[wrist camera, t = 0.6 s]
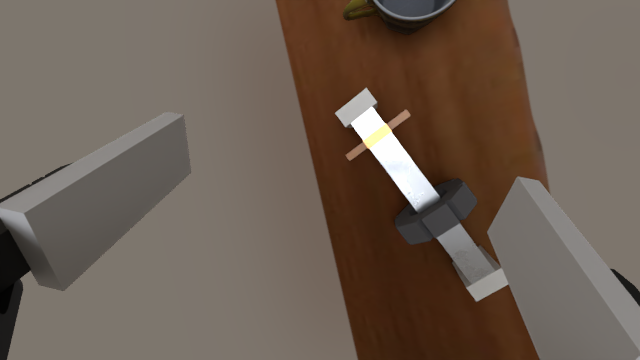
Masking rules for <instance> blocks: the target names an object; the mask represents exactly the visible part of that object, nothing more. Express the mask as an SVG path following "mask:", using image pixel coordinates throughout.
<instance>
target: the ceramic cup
mask: <svg viewBox="0 0 640 360" xmlns="http://www.w3.org/2000/svg"><path fill="white" fill-rule="evenodd" d="M455 2H456V0H352V1H351V2H350V3H349V4H348V5H347V6H346V8H345V9H344V12H343V17H344V19H345V20H354V19H358V18H361V17H368V16H372V15H376V16H381V18H382V19H383V21H384V22H385V24H386V26H387V28H388V29H391V30H394V31H397V32H400V33H404V34H408V35H409V34H411V33H413V32H415V31H416V30H418V29H420V28H422V27H424V26H426V25H427V24H429V23H430V22H431V21H433V20H434V19H435V18H437V17H438V16H440V15H441V14H443V13H444V12H445V11H446V10H448V9H449V8H450V7H451V6H452V5H453V4H454V3H455ZM368 6H371V7H373V8H372V9H371V10H368V11H360V12H356V11H358V10H360V9H363V8H365V7H368ZM353 12H356V13H353ZM351 13H352V14H351Z"/></svg>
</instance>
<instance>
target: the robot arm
mask: <svg viewBox="0 0 640 360" xmlns="http://www.w3.org/2000/svg"><path fill="white" fill-rule="evenodd" d="M190 173H191V167H190V159H189V151H188V144H187V136H186V128H185V120H184V115H181V114H176V113H170V112H165V113H164V114H161V115H160V116H158V117H156V118H154V119H153V120H151V121H149V122H147V123H145V124H143V125H141V126H140V127H138V128H136V129H134V130H132V131H131V132H129V133H127V134H125V135H123V136H121V137H120V138H118V139H116V140H114V141H112V142H111V143H109V144H107V145H105V146H103V147H101V148H100V149H98V150H96V151H94V152H92V153H91V154H89V155H87V156H85V157H83V158H81V159H80V160H78V161H76V162H74V163H71V164H68V165H65V166H62V167H60V168H58V169H56V170H54V171H52V172H50V173H48V174H47V175H45V177H41V178H39V179H37V180H35V181H34V182H32V184H31V185H29V184H28V185H26V186H24V187H23V188H21V189H19V190H17V191H15V192H13V193H11V194H10V195H8V196H6V197H4V198H2V199H0V360H7V356H8V352H9V348H10V344H11V339H12V335H13V331H14V326H15V322H16V317H17V313H18V309H19V305H20V300H21V296H22V291H23V284H22V282H21V280H20V278H21V277H22V276H24V275H25V274H26V273H28V272H29V271H30V270H31V272H32V274H33V276H34V277H35V279H36V281H37V282H38V284H39V285H41V286H45V287H49V288H53V289H57V290H61V291H64V290H65V289H67V288H68V287H69V286H70V285H71V284H72V283H73V282H74V281H75V280H76V279H77V278H78V277H79V276H80V275H82V274H83V272H85V271H86V270H87V269H88V268H89V267H90V266H91V265H92V264H93V263H94V262H96V261H97V260H98V259H99V258H100V256H102V255H103V254H104V253H105V252H106V251H107V250H108V249H109V248H111V247H112V246H113V245H114V244H115V243H116V242H117V241H118V240H119V239H120V238H121V237H122V236H123V235H125V234H126V233H127V232H128V231H129V230H130V229H131V228H132V227H133V226H134V225H135V224H136V223H137V222H138V221H140V220H141V219H142V218H143V217H144V216H145V215H146V214H147V213H148V212H149V211H150V210H151V209H152V208H154V207H155V206H156V205H157V204H158V203H159V202H160V201H161V200H162V199H163V198H164V197H165V196H166V195H167V194H169V193H170V192H171V191H172V190H173V189H174V188H175V187H176V186H177V185H178V184H179V183H180V182H181V181H182V180H184V179H185V178H186V177H187V176H188V175H189V174H190ZM487 233H488V236H489V238H490V241H491V243H492V245H493V248H494V250H495V253H496V255H497V258H498V260H499V262H500V265H501V267H502V270H503V272H504V274H505V277H506V279H507V282H508V284H509V286H510V289H511V291H512V294H513V296H514V298H515V301H516V303H517V306H518V308H519V311H520V313H521V315H522V318H523V320H524V323H525V325H526V327H527V330H528V332H529V335H530V337H531V339H532V342H533V344H534V347H535V349H536V352H537V354H538V356H539V359H540V360H640V292H639V291H638V289H637V288H636V287H635V286H634V285H633V284H632V283H630V282H629V281H628V280H627V279H625V278H624V277H623V276H622V275H620V274H619V273H618V272H616V271H615V270H614V269H609V268H608V266H607V265H606V264H605V263H604V261H603V260H602V259H601V257H600V256H599V255H598V254H597V253H596V251H595V250H594V249H593V248H592V246H591V245H590V244H589V243H588V241H587V240H586V239H585V238H584V236H583V235H582V234H581V233H580V231H579V230H578V229H577V228H576V226H575V225H574V224H573V223H572V221H571V220H570V219H569V218H568V216H567V215H566V214H565V213H564V211H563V210H562V209H561V208H560V206H559V205H558V204H557V203H556V201H555V200H554V199H553V198H552V196H551V195H550V194H549V193H548V191H547V190H546V189H545V188H544V186H543V185H542V184H541V183H540V181H538V180H533V179H527V178H522V177H517V178H516V180H515V182H514V184H513V185H512V187H511V189H510V191H509V193H508V195H507V197H506V198H505V200H504V202H503V204H502V206H501V208H500V209H499V211H498V213H497V215H496V217H495V219H494V220H493V222H492V224H491V226H490V228H489V230H488V232H487Z"/></svg>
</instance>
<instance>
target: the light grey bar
mask: <svg viewBox="0 0 640 360" xmlns="http://www.w3.org/2000/svg"><path fill="white" fill-rule="evenodd" d="M351 125H352V126H353V127H354V129H355V130H356V131H357V133H358V134H359V135H360V137H361V138H362V139H363V142H364V143H365V145H366V146H367V147H368V149H370V150H371V151H372V153H373V154H374V155H375V157H376V158H377V159H378V161H379V162H380V163H381V164H382V166H383V167H384V168H385V170H386V171H387V172H388V174H389V175H390V176H391V178H392V179H393V180H394V182H395V183H396V184H397V186H398V187H399V188H400V190H401V191H402V192H403V194H404V195H405V196H406V198H407V199H408V200H409V202H410V203H411V204H412V206H413V207H414V208H415V210H416V211H417V212H418V214H419V213H422V212H424V211H425V210H427V209H428V208H430V207H431V206H433V205H434V204H436V203H437V202H439V201H440V199H441V198H440V196H439V195H438V194H437V192H436V191H435V190H434V188H433V187H432V186H431V184H430V183H429V182H428V180H427V179H426V178H425V176H424V175H423V174H422V172H421V171H420V170H419V168H418V167H417V166H416V164H415V163H414V162H413V160H412V159H411V158H410V156H409V155H408V154H407V152H406V151H405V150H404V148H403V147H402V146H401V144H400V143H399V142H398V140H397V139H396V138H395V136H394V135H393V134H392V131H391V130H390V128H389V127H388V126H387V124H386V123H384V122H383V120H382V119H381V118H380V116H379V115H378V114H377V112H376V111H375V110H374V108H373V107H371V108H370V109H368V110H367V111H366V112H365V113H363V114H362V115H361V116H359V117H358V118H357V119H356V120H354V121H353V122H352V123H351ZM437 239H438V240H439V242H440V243H441V244H442V246H443V247H444V248H445V250H446V251H447V252H448V254H449V255H450V256H451V258H452V259H453V260H454V262H455V263H456V264H457V266H458V267H459V268H460V270H461V271H462V272H463V274H464V275H465V276H466V278H467V279H468V280H469V282H470V283H471V284H472V283H474V282H475V281H477V280H479V279H481V278H482V277H484V276H486V275H488V274H489V273H491V272H493V271H495V270H494V268H493V267H492V266H491V264H490V263H489V262H488V260H487V259H486V258H485V256H484V255H483V254H482V252H481V251H480V250H479V248H478V247H477V246H476V244H475V243H474V242H473V240H472V239H471V238H470V236H469V235H468V234H467V232H466V231H465V230H464V228H463V227H462V226H461V224H458V225H456V226H455V227H453V228H452V229H450V230H448V231H447V232H445V233H444V234H442V235H440V236H439V237H437Z"/></svg>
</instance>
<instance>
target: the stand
mask: <svg viewBox="0 0 640 360" xmlns="http://www.w3.org/2000/svg"><path fill="white" fill-rule="evenodd" d="M371 107H373V108H374V110H375V109H376V108H377V101H376V100H375V99H374V97H373V96H372V95H371V93H370V92H369V91H368V89H367V88H366V89H364V90H363V91H362V92H361V93H359V94H358V95H357V96H356V97H354V98H353V99H352V100H351V101H349V102H348V103H347V104H346V105H344V106H343V107H342V108H341V109H339V110H338V111H337V112H336V113H335V114H336V115H337V116H338V118H339V119H340V120H341V122H342V123H343V124H344V126H345V127H347V128H352V127H353V126H352V125H351V123H352V122H353V121H354V120H356V119H357V118H358V117H359V116H361V115H362V114H363V113H365V112H366V111H367V110H368V109H370V108H371ZM409 116H411V115H410V113H409V112H408V111H407V109H406V110H405V111H403V112H402V113H401V114H399V115H398V116H397V117H395V118H394V119H393V120H391V121H390V122H389V123H387V126H388V127H389V128H390V130H392V129H393V128H395V127H396V126H397V125H399V124H400V123H401V122H403V121H404V120H405V119H407V118H408V117H409ZM367 148H368V147H367V146H366V145H365V143H364V142H362V143H361V144H360V145H358V146H357V147H356V148H354V149H353V150H352V151H350V152H349V153H348V154H346V155H345V156H346V157H347V158H348V160H349V161H351V160H352V159H353V158H355V157H356V156H357V155H359V154H360V153H361V152H363V151H364V150H365V149H367ZM478 248H479V250H480V251H481V252H482V254H483V255H484V256H485V258H486V259H487V260H488V262H489V263H490V264H491V266H492V267H493V268H494V270H495V271H493V272H491V273H489V274H488V275H486V276H484V277H482V278H481V279H479V280H477V281H475V282H474V283H472V284H471V283H470V282H469V280H468V279H467V278H466V276H465V275H464V274H463V272H462V271H461V270H460V268H459V267H458V266H457V264H456V263H455V262H454V261H453V262H452V264H453V266H454V267H455V269H456V271H457V273H458V274H459V276H460V278H461V280H462V281H463V283H464V285H465V287H466V288H467V290H468V291H469V292H470V294H471V295H472V296H473V297H474V299H475V300H476V301H479V300H481V299H482V298H484V297H486V296H488V295H490V294H492V293H493V292H495V291H497V290H499V289H501V288H502V287H504V286H506V285H508V282H507V279H506V277H505V274H504V272H503V270H502V268H501V267H500V266H499V265H498V264H497V263H496V262H495V261H494V259H493V258H492V257H491V256H490V255H489V254H488V253H487V252H486V251H485V250H484V249H483V248H482V246H481V245H480V246H478Z"/></svg>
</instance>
